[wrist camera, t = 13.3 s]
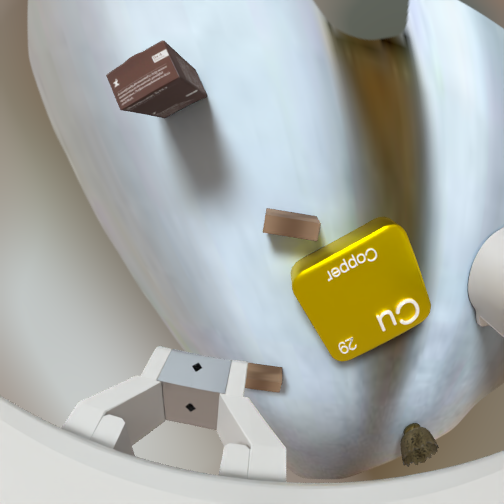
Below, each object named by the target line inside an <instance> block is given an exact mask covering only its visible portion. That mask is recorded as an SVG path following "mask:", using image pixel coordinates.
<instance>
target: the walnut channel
mask: <svg viewBox="0 0 504 504" xmlns="http://www.w3.org/2000/svg"><path fill="white" fill-rule="evenodd" d="M320 224H321V223H320V222H319V220H318V218H317V216H311V215H305V214H299V213H293V212H287V211H281V210H275V209H268V208H267V209H266V215H265V222H264V228H263V233H270V234H276V235H282V236H289V237H295V238H301V239H307V240H313V241H317V239H318V234H319V229H320ZM281 385H282V367H275V366H267V365H260V364H253V363H248V369H247V377H246V384H245V388H250V389H257V390H264V391H272V392H280V388H281Z"/></svg>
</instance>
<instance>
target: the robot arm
mask: <svg viewBox="0 0 504 504" xmlns="http://www.w3.org/2000/svg"><path fill="white" fill-rule="evenodd" d="M468 293H469V298H470V301H471V303H472V305H473V307H474V308H475V310H476V321H477V324H479V325H480V326H481V327H484V326H489V325H490V326H491V327H492V328H493V329H495V330H496V331H497V332H498V333H499V334H500V335H501V336H503V337H504V227H503V228H502V229H500V230H498V231H497V232H495V233H494V234H493V235H491V236H490V237H489V238H488V239H487V240H486V242H485V243H484V244H483V245H482V247H481V248H480V250H479V252H478V253H477V255H476V257H475V260H474V262H473V265H472V268H471V271H470V275H469V282H468ZM247 369H248V362H245V361H237V360H228V359H221V358H215V357H209V356H203V355H198V354H193V353H189V352H184V351H180V350H175V349H170V348H165V347H161V346H158V347H157V348H155V350H154V352H153V354H152V356H151V357H150V359H149V361H148V363H147V365H146V367H145V369H144V370H143V372H142V374H141V376H134V377H132V378H130V379H128V380H126V381H123V382H121V383H119V384H117V385H115V386H113V387H110V388H108V389H106V390H104V391H102V392H100V393H98V394H95V395H93V396H91V397H88V398H86V399H84V400H82V401H79V402H78V404H77V405H76V407H75V408H74V410H73V411H72V413H71V414H70V416H69V417H68V419H67V420H66V422H65V423H64V425H63V426H62V428H60V427H58V426H56V425H54V424H52V423H50V422H47V421H45V420H43V419H42V418H40V417H38V416H36V415H34V414H32V413H30V412H28V411H27V410H25V409H23V408H21V407H19V406H18V405H16V404H14V403H12V402H11V401H9V400H7V399H6V398H4V397H2V396H1V395H0V504H504V450H503V451H500V452H497V453H494V454H492V455H489V456H486V457H483V458H480V459H476V460H473V461H470V462H466V463H463V464H459V465H455V466H452V467H448V468H443V469H439V470H435V471H430V472H425V473H419V474H414V475H408V476H402V477H395V478H388V479H379V480H370V481H358V482H343V483H342V482H341V483H287V482H286V447H285V446H284V445H283V444H282V442H281V441H280V440H279V438H278V437H277V436H276V434H275V433H274V432H273V431H272V429H271V428H270V427H269V425H268V424H267V423H266V421H265V420H264V418H263V417H262V416H261V414H260V413H259V412H258V410H257V409H256V407H255V406H254V405H253V403H252V402H251V401H250V399H249V398H247V397H244V392H245V384H246V377H247ZM165 420H169V421H174V422H179V423H184V424H190V425H194V426H199V427H204V428H208V429H214V430H217V433H218V435H219V437H220V439H221V441H222V443H223V446H224V451H223V457H222V461H221V466H220V471H219V476H217V475H212V474H206V473H200V472H195V471H191V470H186V469H181V468H177V467H172V466H168V465H164V464H161V463H157V462H153V461H149V460H146V459H142V458H139V457H136V456H135V455H134V452H133V449H132V445H133V444H135V443H136V442H138V441H139V440H140V439H142V438H143V437H144V436H146V435H147V434H149V433H150V432H151V431H153V430H154V429H155V428H157V427H158V426H159V425H161V424H162V423H163V422H164V421H165Z"/></svg>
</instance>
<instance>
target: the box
mask: <svg viewBox="0 0 504 504" xmlns="http://www.w3.org/2000/svg"><path fill="white" fill-rule="evenodd" d="M106 76H107V78H108V81H109V83H110V85H111V88H112V90H113V93H114V95H115V98H116V101H117V103H118V105H119V108H120V110H124V111H130V112H136V113H141V114H147V115H151V116H157V117H162V118H166V117H168V116H170V115H172V114H173V113H175V112H177V111H179V110H181V109H183V108H185V107H187V106H188V105H190V104H192V103H194V102H197V101H199V100H201V99H203V98H206V97H207V94H206V92H205V90H204V87H203V85H202V83H201V81H200V79H199V77H198V74H197V72H196V70H195V69H194V68H193V67H192V66H191V65H190V64H189V63H188V62H187V61H185V60H184V59H183V58H182V57H181V56H180V55H179V54H178V53H177V52H176V51H175V50H174V49H172V48H171V47H170V46H169V45H168V44H167V43H166V42H165V41H160V42H158V43H157V44H155V45H153V46H151V47H150V48H148V49H146V50H145V51H143V52H141V53H138V54H136V55H134V56H132V57H131V58H129V59H128V60H127V61H126V62H125V63H123V64H122V65H120V66H119V67H117V68H116V69H114V70H112V71H111V72H109V73H108V74H107V75H106Z"/></svg>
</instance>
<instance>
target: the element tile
mask: <svg viewBox="0 0 504 504" xmlns="http://www.w3.org/2000/svg"><path fill="white" fill-rule="evenodd" d="M291 280H292V290H293V293H294V295H295V296H296V298H297V300H298V301H299V303H300V305H301V306H302V308H303V310H304V311H305V313H306V315H307V316H308V318H309V320H310V321H311V323H312V325H313V326H314V328H315V329H316V331H317V333H318V334H319V336H320V338H321V339H322V341H323V343H324V344H325V346H326V348H327V349H328V351H329V353H330V354H331V356H332V357H333V358H334V359H336V360H337V361H348V360H351V359H353V358H355V357H357V356H359V355H362V354H364V353H366V352H368V351H370V350H372V349H374V348H376V347H377V346H379V345H381V344H383V343H385V342H387V341H389V340H391V339H393V338H395V337H396V336H398V335H400V334H402V333H404V332H405V331H407V330H409V329H411V328H413V327H414V326H416V325H418V324H419V323H421V322H422V321H424V320H425V319H426V318H427V317H428V315H429V313H430V309H431V304H430V300H429V297H428V294H427V291H426V287H425V284H424V281H423V278H422V275H421V272H420V269H419V266H418V264H417V261H416V258H415V255H414V252H413V250H412V247H411V244H410V242H409V239H408V237H407V234H406V232H405V231H404V229H403V228H402V227H401V226H400V225H398V224H397V223H395V222H394V221H392V220H391V219H390V218H387V217H378V218H376V219H373V220H372V221H370V222H368V223H366V224H365V225H363V226H361V227H359V228H357V229H356V230H354V231H352V232H350V233H348V234H346V235H345V236H343V237H341V238H339V239H337V240H336V241H334V242H332V243H330V244H328V245H326V246H325V247H323V248H321V249H319V250H317V251H315V252H313V253H312V254H310V255H308V256H306V257H304V258H302V259H300V260H299V261H298V262H296V263H295V265H294V266H293V267H292V270H291Z"/></svg>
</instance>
